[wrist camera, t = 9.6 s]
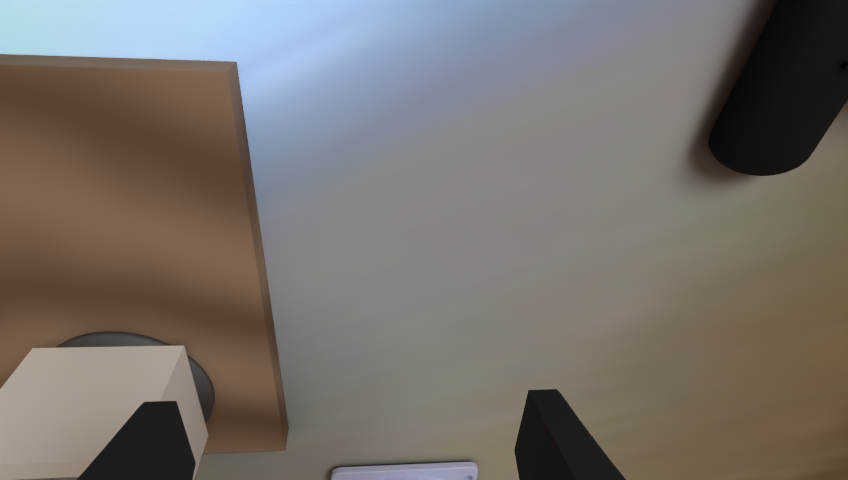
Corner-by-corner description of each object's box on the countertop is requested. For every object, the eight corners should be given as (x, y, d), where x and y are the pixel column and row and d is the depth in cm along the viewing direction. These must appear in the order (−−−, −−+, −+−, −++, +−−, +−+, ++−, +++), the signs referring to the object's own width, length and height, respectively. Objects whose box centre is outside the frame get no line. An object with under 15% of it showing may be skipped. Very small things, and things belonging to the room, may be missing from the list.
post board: (288, 429, 26) (265, 568, 20) (34, 438, 24) (-64, 589, 19) (236, 62, 16) (164, 138, 10) (-189, 48, 15) (-517, 126, 9)
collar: (208, 435, 23) (171, 551, 19) (77, 439, 23) (9, 559, 18) (184, 345, 20) (134, 459, 16) (32, 348, 20) (-61, 466, 15)
